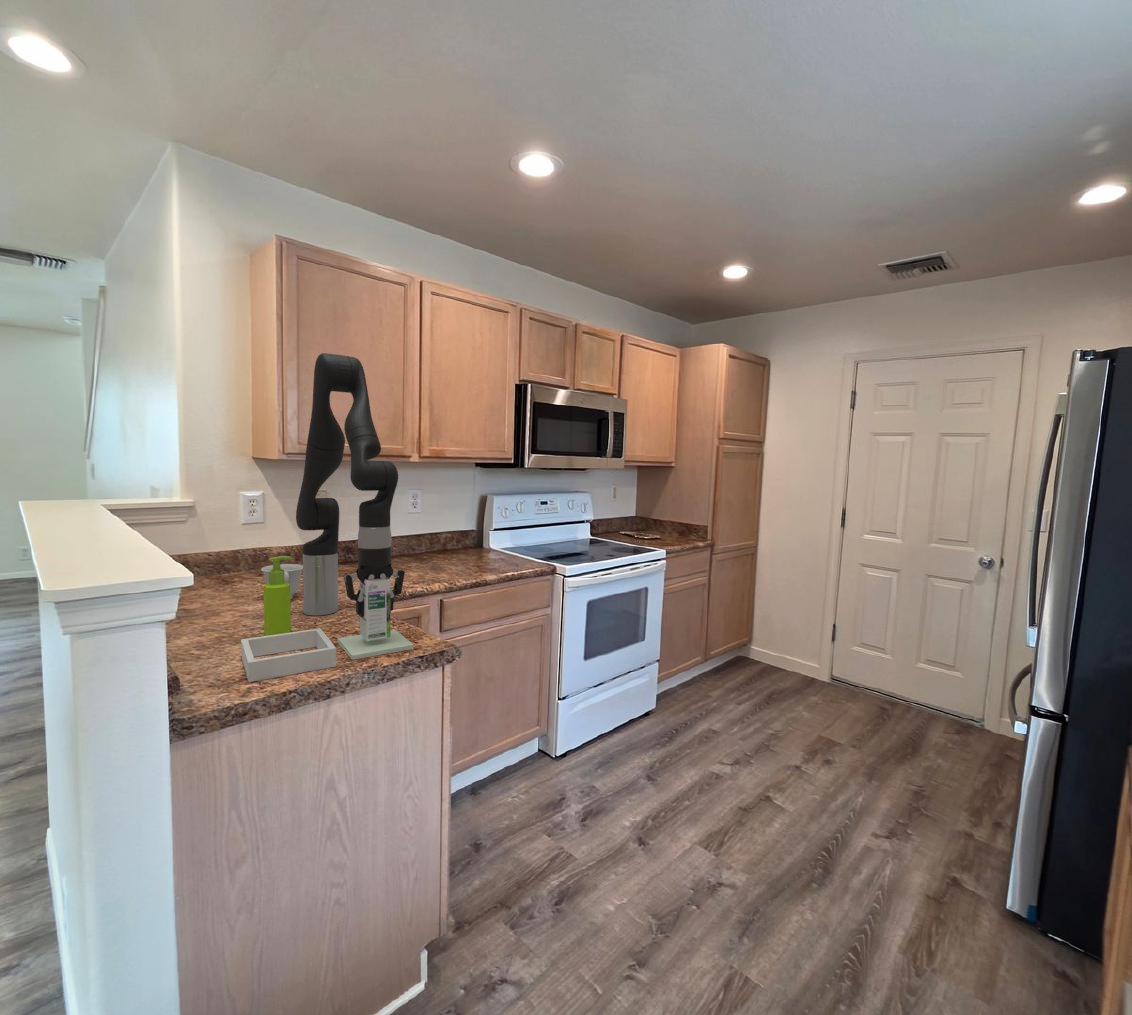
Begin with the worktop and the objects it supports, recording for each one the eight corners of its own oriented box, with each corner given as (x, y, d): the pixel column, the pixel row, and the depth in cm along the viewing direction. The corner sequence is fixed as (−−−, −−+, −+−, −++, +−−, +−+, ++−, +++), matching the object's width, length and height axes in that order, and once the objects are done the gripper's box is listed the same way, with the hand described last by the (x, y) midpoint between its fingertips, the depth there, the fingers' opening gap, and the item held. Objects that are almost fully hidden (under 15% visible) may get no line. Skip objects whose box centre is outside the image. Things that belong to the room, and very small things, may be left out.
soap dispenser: (299, 635, 136) (298, 557, 134) (269, 641, 131) (268, 560, 129) (289, 630, 140) (288, 553, 138) (260, 636, 135) (259, 556, 133)
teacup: (264, 607, 160) (263, 574, 159) (260, 596, 173) (259, 565, 172) (308, 602, 167) (308, 570, 166) (301, 592, 179) (301, 562, 178)
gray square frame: (241, 656, 121) (241, 639, 120) (320, 644, 130) (320, 628, 130) (248, 682, 107) (248, 662, 107) (336, 666, 117) (336, 648, 116)
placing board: (337, 642, 132) (337, 638, 132) (394, 632, 140) (394, 629, 140) (352, 659, 121) (352, 655, 121) (413, 648, 129) (413, 644, 129)
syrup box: (366, 642, 126) (366, 581, 125) (359, 635, 131) (359, 576, 130) (390, 638, 129) (391, 578, 128) (383, 631, 134) (383, 574, 133)
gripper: (399, 541, 136) (399, 606, 137) (339, 544, 127) (339, 614, 129) (409, 545, 129) (409, 614, 131) (346, 549, 121) (347, 622, 123)
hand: (374, 614), depth 130 cm, fingers closed on syrup box, 5 cm apart
